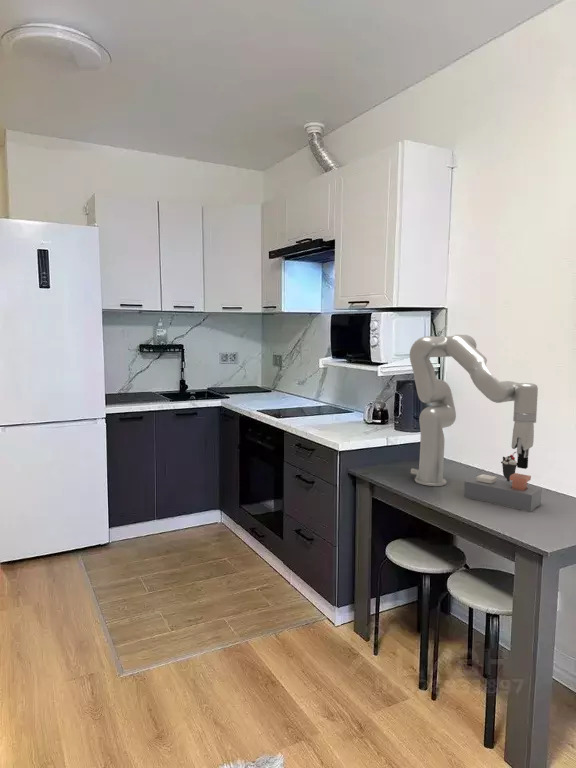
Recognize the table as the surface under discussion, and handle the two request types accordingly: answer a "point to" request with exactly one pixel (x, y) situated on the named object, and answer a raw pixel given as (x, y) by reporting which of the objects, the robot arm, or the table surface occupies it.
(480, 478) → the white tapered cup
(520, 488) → the pink block
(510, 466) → the sundae
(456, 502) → the table surface
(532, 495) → the block
